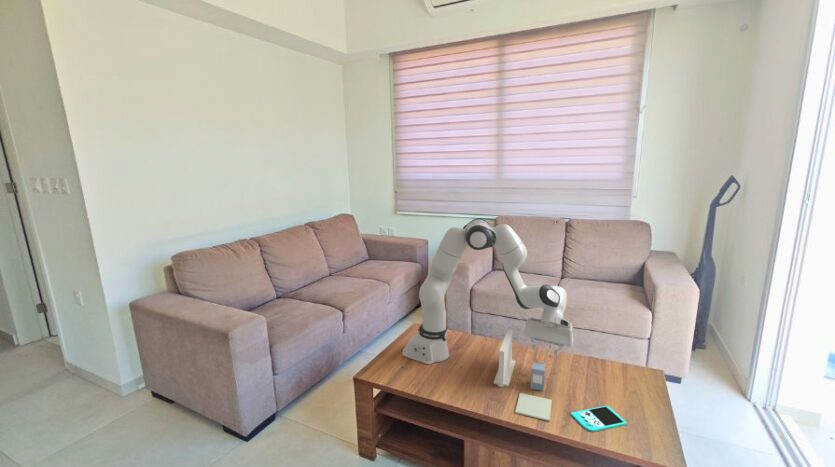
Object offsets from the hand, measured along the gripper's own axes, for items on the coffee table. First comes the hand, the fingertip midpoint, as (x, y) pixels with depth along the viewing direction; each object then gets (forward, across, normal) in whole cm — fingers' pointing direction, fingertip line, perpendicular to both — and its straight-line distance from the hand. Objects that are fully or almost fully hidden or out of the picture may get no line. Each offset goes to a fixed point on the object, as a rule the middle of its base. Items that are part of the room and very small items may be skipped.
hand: (544, 352), depth 158 cm
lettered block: (+14, 0, +2) cm, 14 cm away
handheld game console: (+20, +24, -3) cm, 31 cm away
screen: (+12, -15, +4) cm, 19 cm away
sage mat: (+24, +2, -7) cm, 25 cm away
